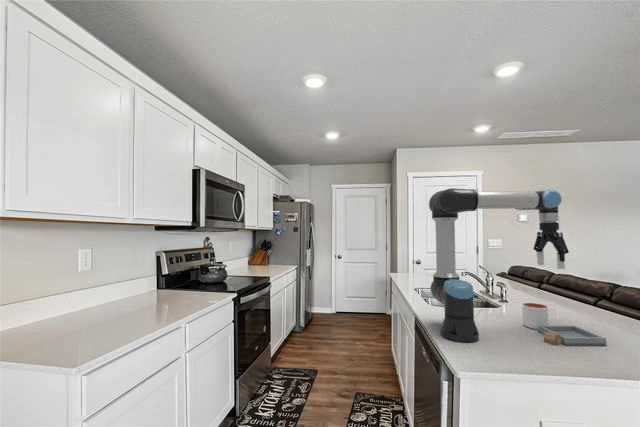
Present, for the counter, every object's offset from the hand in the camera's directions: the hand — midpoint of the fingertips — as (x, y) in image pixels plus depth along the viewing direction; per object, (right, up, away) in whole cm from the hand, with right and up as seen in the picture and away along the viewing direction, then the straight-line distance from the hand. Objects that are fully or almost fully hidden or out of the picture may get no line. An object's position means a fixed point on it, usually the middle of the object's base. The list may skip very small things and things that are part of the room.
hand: (550, 266), depth 151 cm
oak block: (-15, -27, -22) cm, 38 cm away
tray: (-4, -27, -17) cm, 33 cm away
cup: (-8, -28, -1) cm, 29 cm away
